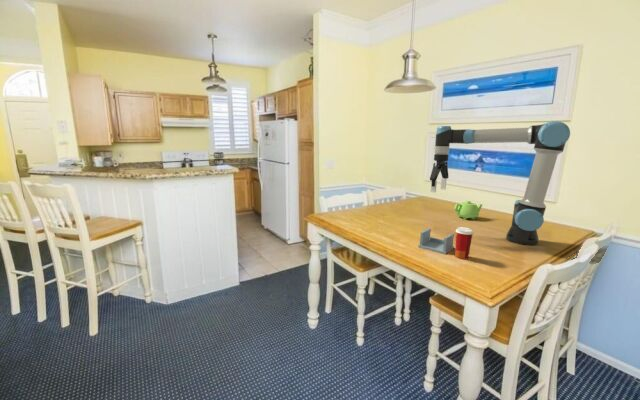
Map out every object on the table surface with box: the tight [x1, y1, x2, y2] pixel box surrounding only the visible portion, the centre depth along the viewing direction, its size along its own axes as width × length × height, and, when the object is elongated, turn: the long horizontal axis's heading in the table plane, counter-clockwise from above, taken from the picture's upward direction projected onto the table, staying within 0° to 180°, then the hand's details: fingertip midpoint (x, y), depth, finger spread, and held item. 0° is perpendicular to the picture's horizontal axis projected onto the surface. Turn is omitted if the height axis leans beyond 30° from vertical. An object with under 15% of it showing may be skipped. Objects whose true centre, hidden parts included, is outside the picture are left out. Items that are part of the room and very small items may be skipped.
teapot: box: [453, 200, 483, 221], centre depth 214 cm, size 20×13×13 cm
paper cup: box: [454, 226, 474, 260], centre depth 143 cm, size 8×8×14 cm
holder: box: [417, 227, 455, 255], centre depth 156 cm, size 14×12×8 cm
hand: (438, 190), depth 174 cm, fingers open, 13 cm apart
